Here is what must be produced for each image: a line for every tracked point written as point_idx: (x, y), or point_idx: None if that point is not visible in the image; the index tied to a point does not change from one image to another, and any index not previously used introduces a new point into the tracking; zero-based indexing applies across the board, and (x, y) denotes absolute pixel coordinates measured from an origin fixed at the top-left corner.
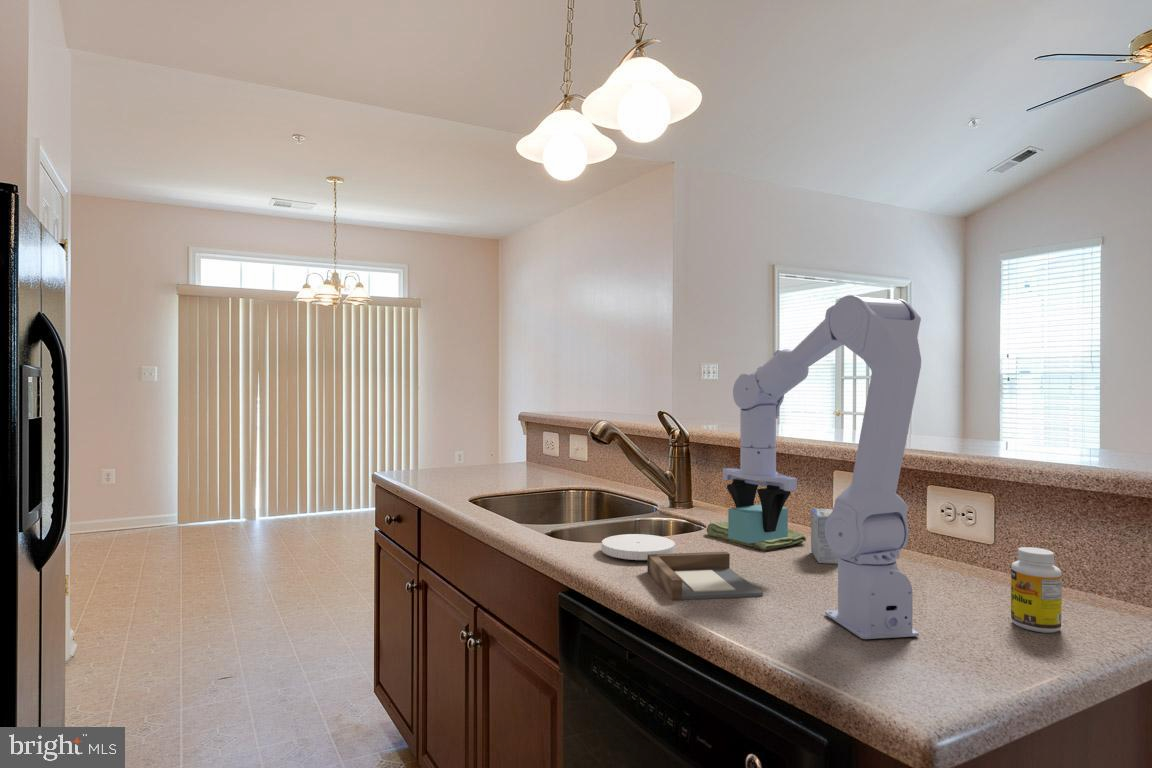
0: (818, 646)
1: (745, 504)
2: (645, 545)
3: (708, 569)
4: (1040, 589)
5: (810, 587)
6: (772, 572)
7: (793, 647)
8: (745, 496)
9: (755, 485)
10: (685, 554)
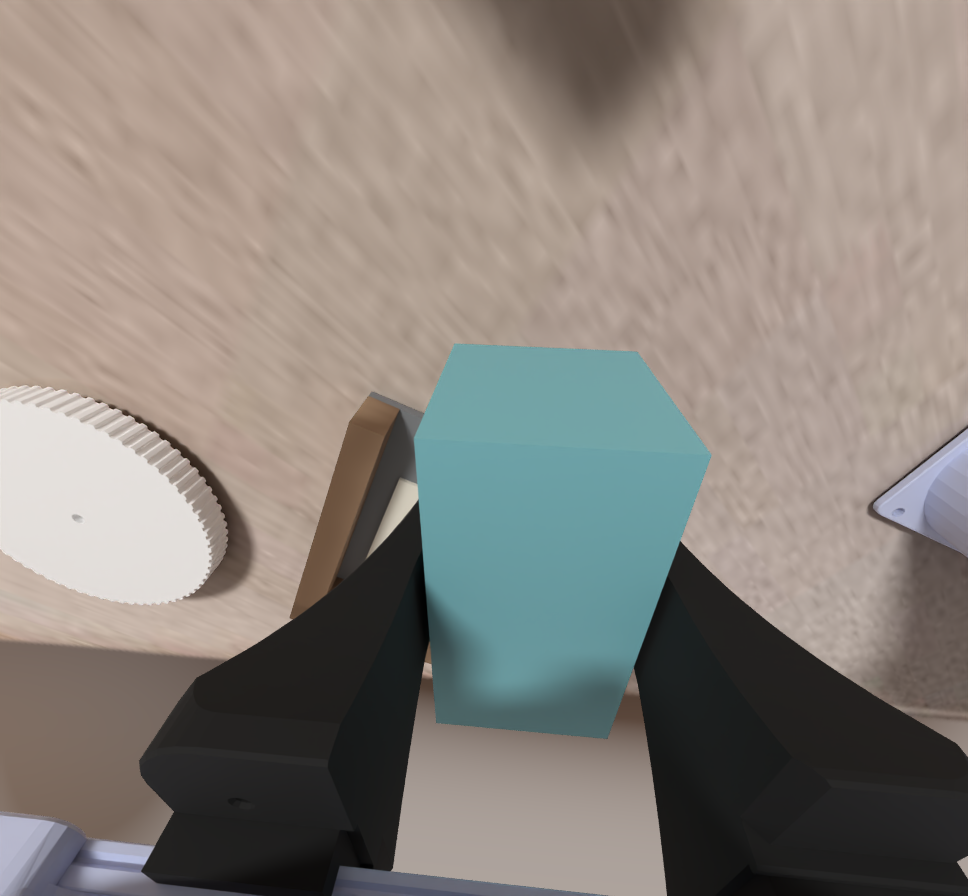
0: (903, 636)
1: (416, 639)
2: (128, 526)
3: (381, 473)
4: None
5: (725, 314)
6: (498, 273)
7: (855, 661)
8: (401, 705)
9: (352, 749)
10: (329, 551)
